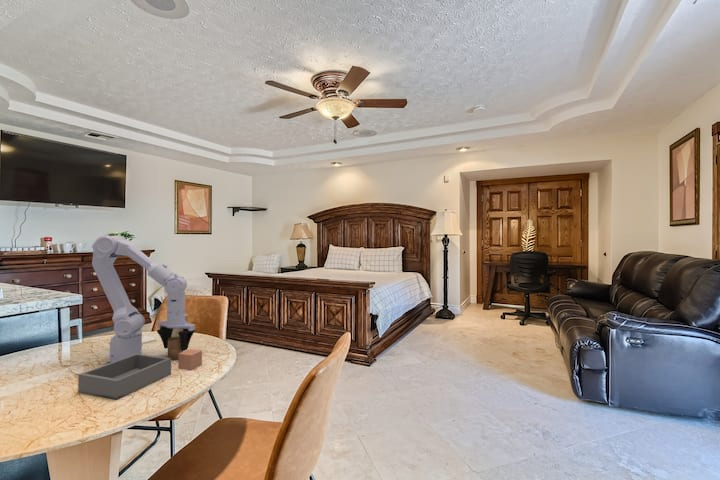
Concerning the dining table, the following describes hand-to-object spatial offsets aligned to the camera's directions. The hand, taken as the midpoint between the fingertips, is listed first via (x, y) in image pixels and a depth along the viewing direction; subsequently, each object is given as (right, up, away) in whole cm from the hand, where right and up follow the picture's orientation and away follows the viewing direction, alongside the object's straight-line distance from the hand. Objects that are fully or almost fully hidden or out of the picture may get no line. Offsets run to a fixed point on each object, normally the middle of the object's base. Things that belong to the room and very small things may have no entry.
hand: (175, 348), depth 123 cm
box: (-8, -3, +18) cm, 20 cm away
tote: (-3, -3, -21) cm, 22 cm away
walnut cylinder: (0, -3, 0) cm, 3 cm away
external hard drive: (-25, -3, +16) cm, 29 cm away
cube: (+9, -4, -8) cm, 13 cm away
